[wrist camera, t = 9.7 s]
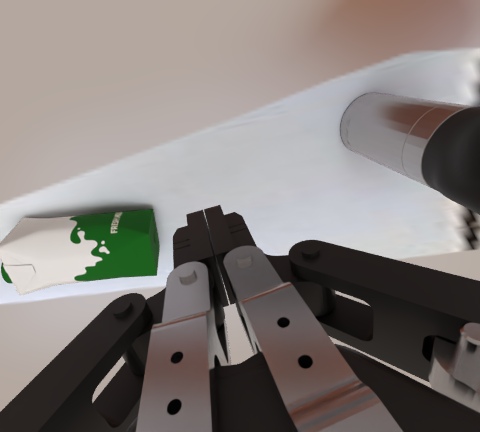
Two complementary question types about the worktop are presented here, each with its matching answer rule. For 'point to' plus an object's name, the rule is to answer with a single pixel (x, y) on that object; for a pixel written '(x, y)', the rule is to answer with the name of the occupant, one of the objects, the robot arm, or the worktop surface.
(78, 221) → the soya milk
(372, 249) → the worktop surface
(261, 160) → the worktop surface
